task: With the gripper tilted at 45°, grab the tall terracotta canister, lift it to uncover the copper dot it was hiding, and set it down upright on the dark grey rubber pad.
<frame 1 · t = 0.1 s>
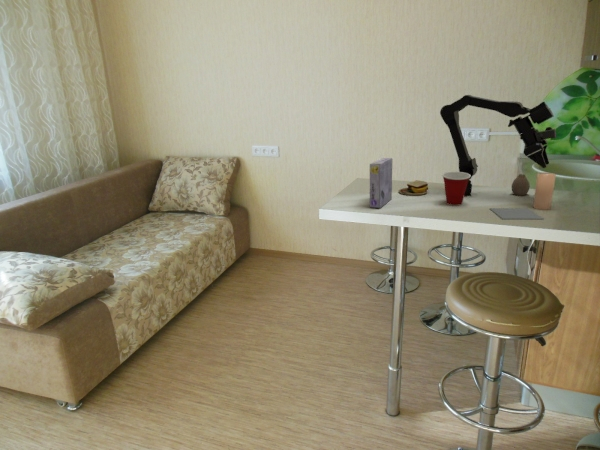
hand: (546, 165, 172), 15 cm above the breakfast bar, tool tilted 35°, fingers open, 9 cm apart
terracotta canister: (541, 207, 169), resting on copper marker
vase: (519, 195, 190), on the breakfast bar
toy sandwich meal: (413, 193, 199), on the breakfast bar
plastic cup: (454, 204, 178), on the breakfast bar
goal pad: (515, 214, 161), on the breakfast bar
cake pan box: (381, 203, 182), on the breakfast bar
copper marker: (541, 207, 169), on the breakfast bar
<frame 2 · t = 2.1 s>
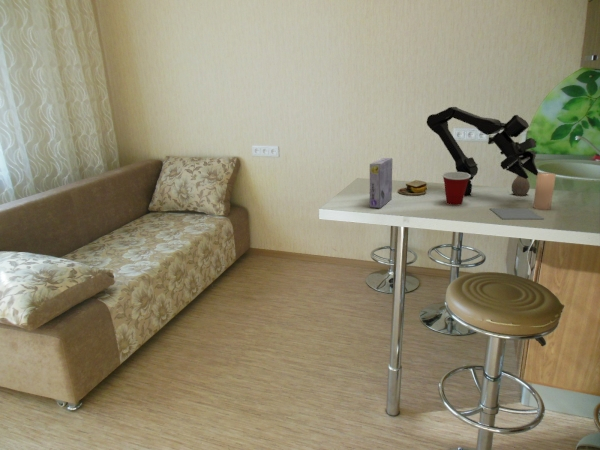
hand: (532, 176, 169), 12 cm above the breakfast bar, tool tilted 45°, fingers open, 9 cm apart
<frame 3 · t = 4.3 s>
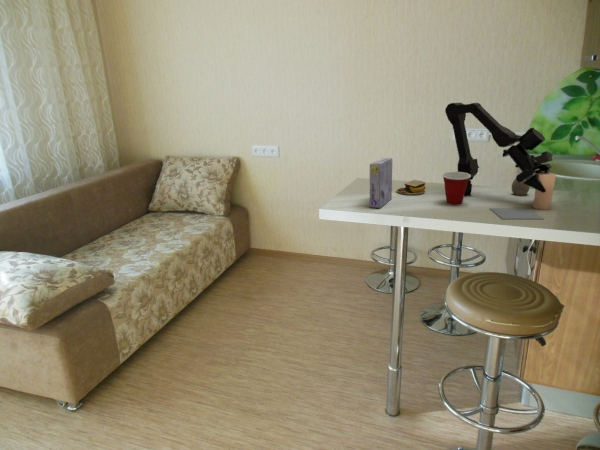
hand: (548, 190, 166), 7 cm above the breakfast bar, tool tilted 45°, fingers closed on terracotta canister, 6 cm apart
terracotta canister: (541, 207, 169), resting on copper marker, touching gripper
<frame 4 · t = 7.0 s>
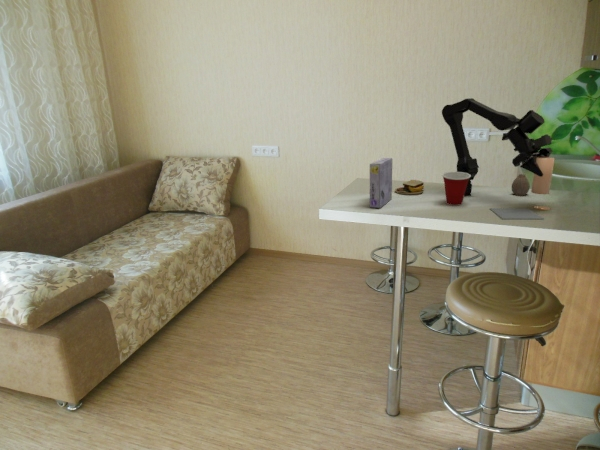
hand: (546, 174, 162), 13 cm above the breakfast bar, tool tilted 45°, fingers closed on terracotta canister, 6 cm apart
terracotta canister: (540, 192, 165), point 7 cm above the breakfast bar, touching gripper
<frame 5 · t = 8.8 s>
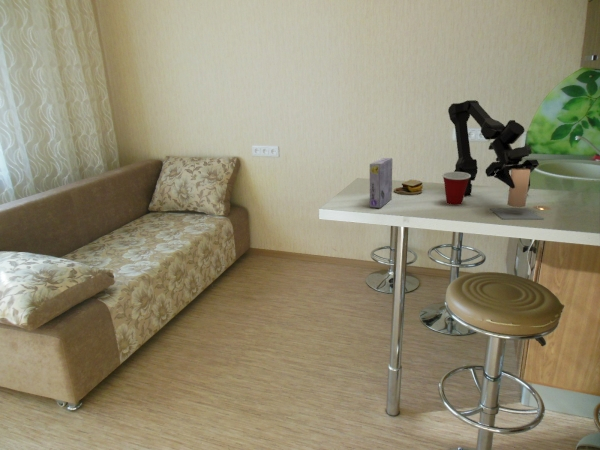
hand: (521, 187, 157), 10 cm above the breakfast bar, tool tilted 45°, fingers closed on terracotta canister, 6 cm apart
terracotta canister: (516, 204, 160), point 3 cm above the breakfast bar, touching gripper
when the fingers open (9 cm above the breakfast bar, at t = 10.0 s): terracotta canister drops 1 cm, resting on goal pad.
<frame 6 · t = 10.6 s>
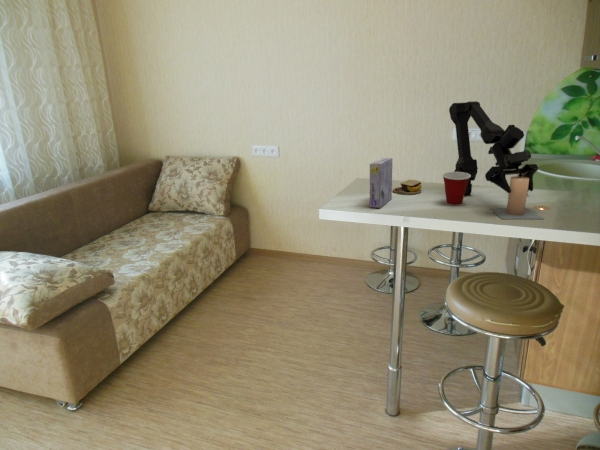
hand: (521, 191, 157), 9 cm above the breakfast bar, tool tilted 45°, fingers open, 9 cm apart
terracotta canister: (515, 213, 161), resting on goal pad
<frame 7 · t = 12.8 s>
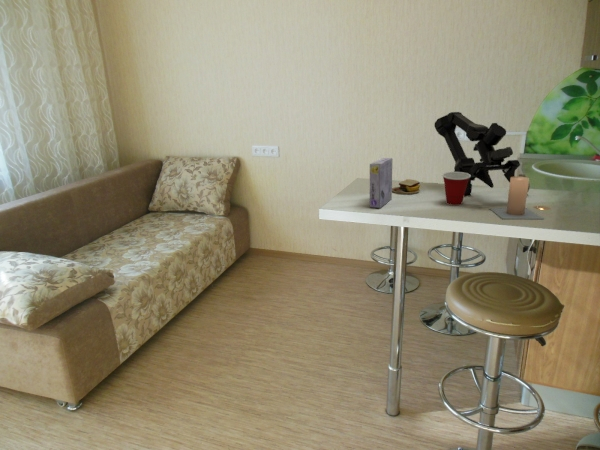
hand: (503, 186, 166), 9 cm above the breakfast bar, tool tilted 45°, fingers open, 9 cm apart
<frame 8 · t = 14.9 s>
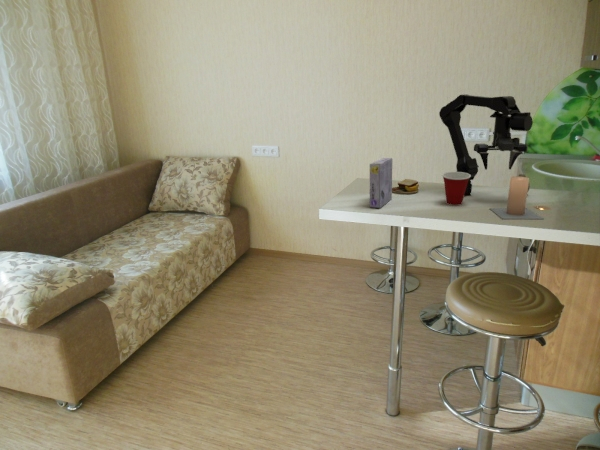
hand: (497, 169, 177), 13 cm above the breakfast bar, tool pointing down, fingers open, 9 cm apart
at the end: terracotta canister inside the target area on the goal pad (0.1 cm from its centre), point 0.4 cm above the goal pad's base; terracotta canister tilted 0°; the gripper is holding nothing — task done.
